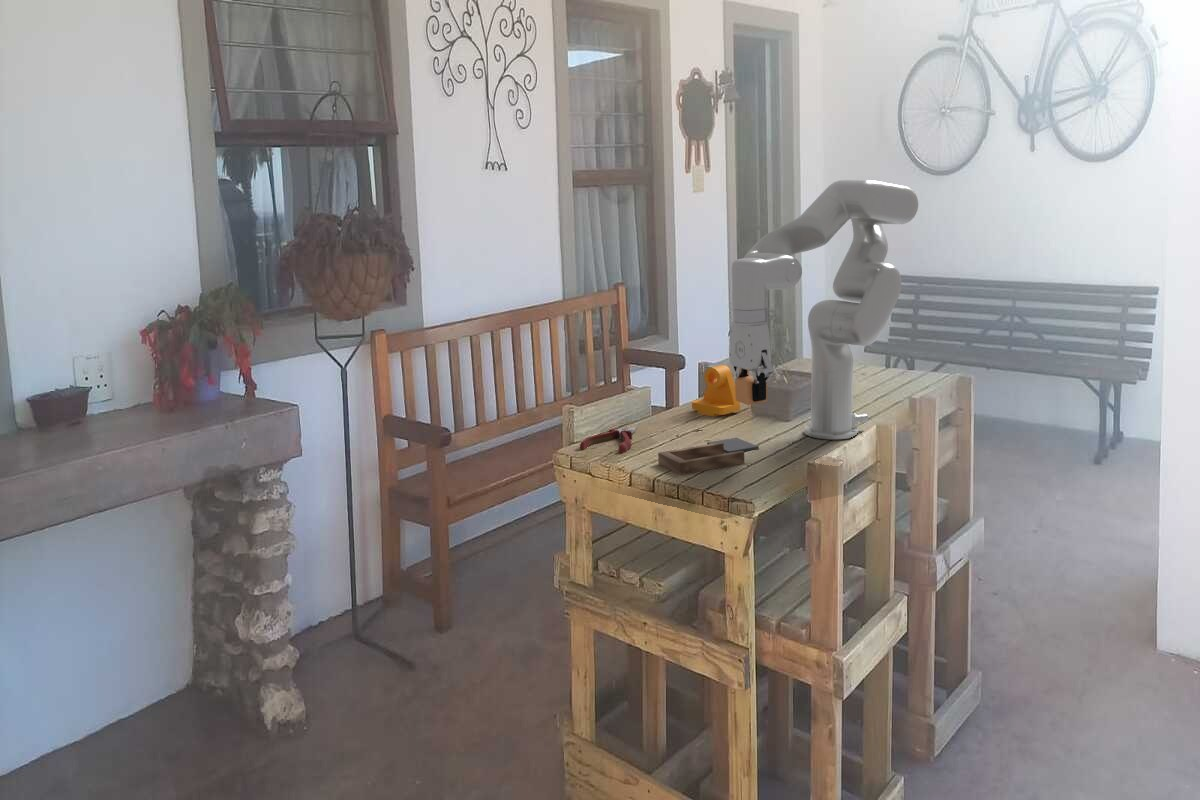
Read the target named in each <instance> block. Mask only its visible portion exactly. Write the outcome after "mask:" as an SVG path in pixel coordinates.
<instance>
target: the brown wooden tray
mask: <svg viewBox="0 0 1200 800" xmlns="http://www.w3.org/2000/svg"><path fill="white" fill-rule="evenodd" d="M657 455H658V465H660V466H662V467H664V468H667V469H668V470H669V471H672V472H675V474H677V475H678V474H679V475H685V474H690V473H691V474H692V473H697V472H703V471H709V470H713V469H719V468H726V467H730V466H731V467H732V466H735V465H736V466H737V465H741V464H745V451H744V452H743V451H737V452H731V453H725V452H724V443H721V442H719V443H713V444H707V443H706V444H701V445H695V446H690V447H684V448H678V449H674V450H667V451H666V450H665V451H660V452H658V453H657Z"/></svg>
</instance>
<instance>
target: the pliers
mask: <svg viewBox="0 0 1200 800" xmlns="http://www.w3.org/2000/svg"><path fill="white" fill-rule="evenodd" d="M637 430H639V429H638V427H629V428H628V426H624V427H620V428H619V429H613V428H612V429H609V430H608V432H603V433H601V434H596V435H591V436H588V437H587V438H585V439H584V440H582V441H581V442H580V445H579V448H580V450H581V451H585V450H586V449H588V448H589V447H591V445H592V446H594V444H595V445H598V444H603V443H607V442H610V441H616V440H619V439H621V441H622V442H621V443H620V444H619V446H618V453H619V454H624V453H623V452H625V453H626V452H628V451H630V450H631V448H632V441H631V440H633V434H634V433H635V432H636V431H637ZM587 447H588V448H587ZM629 449H630V450H629ZM627 450H628V451H627Z"/></svg>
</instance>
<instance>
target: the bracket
mask: <svg viewBox="0 0 1200 800" xmlns="http://www.w3.org/2000/svg"><path fill="white" fill-rule="evenodd" d="M704 382H705V384H706V387H705V390H704V391H705V392H704V395H703V398H700V399H696V400H692V401H691V409H692V410H695V411H697V414H700V415H705V416H709V417H717V416H723V415H727V414H731V413H735V412H739V411H741V402H739V401H736V394H735V379H734V376H733V373H732V370H731V369H730V368H729V366H727V365H725V364H721V365H717V366H712V367H709V368H707V369H706V370H705V372H704Z"/></svg>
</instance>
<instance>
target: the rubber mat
mask: <svg viewBox="0 0 1200 800" xmlns="http://www.w3.org/2000/svg"><path fill="white" fill-rule="evenodd" d="M719 442H721V443H724V454H725V453H731V452H737V451H743V452H744V453H745V452H748V451H754V450H759V446H758V445H756V444H753V443H751V442H750V441H746V440H744V439H741V438H738V437H732V438H725V439H720V440H713V441H709V442H708V441H707V443H706V445H707V444H713V443H719Z"/></svg>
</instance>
